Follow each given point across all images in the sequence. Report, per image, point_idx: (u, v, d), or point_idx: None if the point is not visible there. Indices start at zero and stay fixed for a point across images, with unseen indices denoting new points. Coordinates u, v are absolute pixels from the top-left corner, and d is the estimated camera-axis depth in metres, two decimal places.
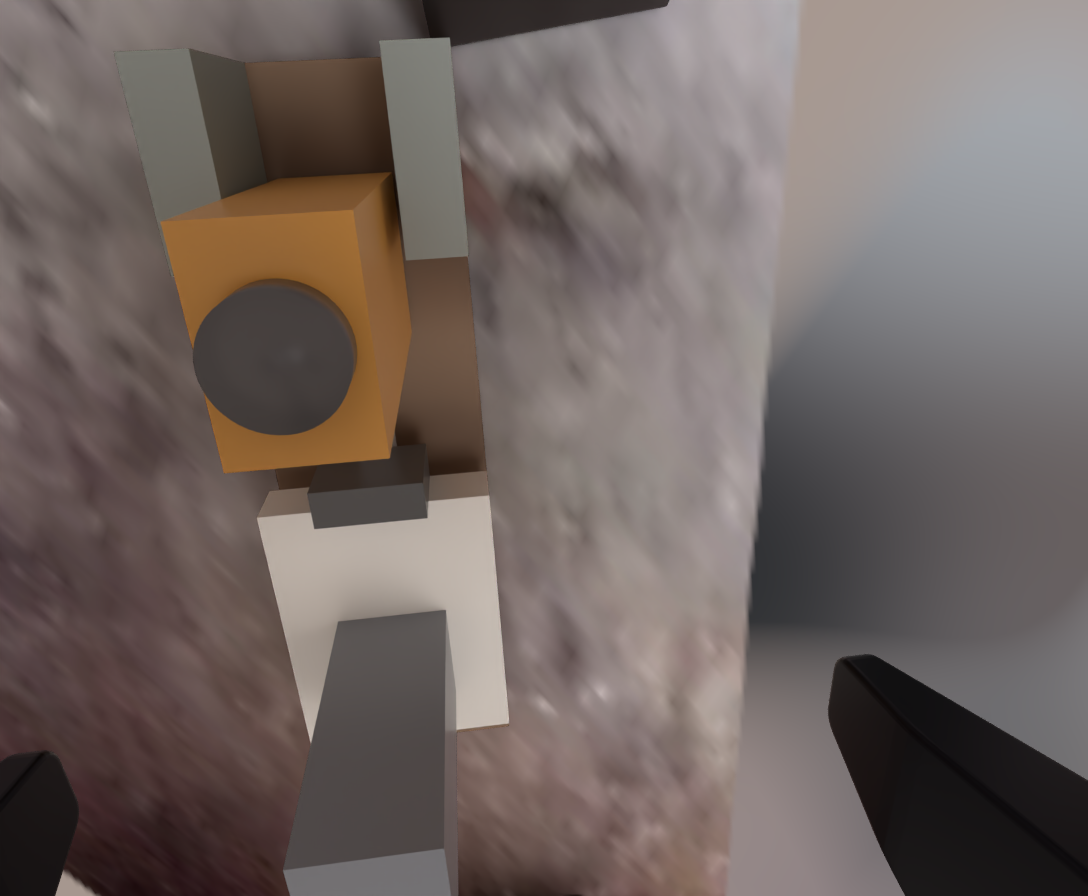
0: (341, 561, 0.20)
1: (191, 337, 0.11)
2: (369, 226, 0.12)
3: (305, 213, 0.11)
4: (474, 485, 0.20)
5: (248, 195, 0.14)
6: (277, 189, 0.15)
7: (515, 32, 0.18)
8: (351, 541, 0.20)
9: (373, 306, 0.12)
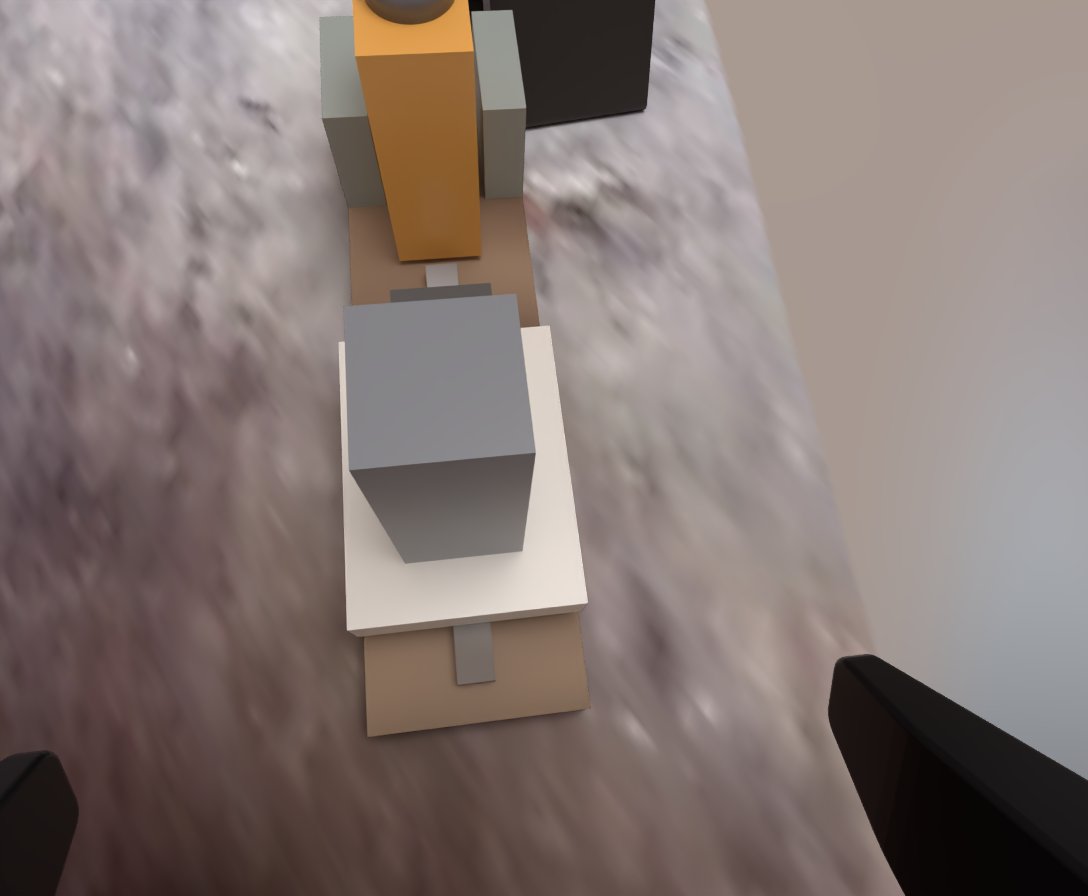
0: None
1: None
2: None
3: None
4: None
5: None
6: None
7: (552, 117, 0.28)
8: None
9: None
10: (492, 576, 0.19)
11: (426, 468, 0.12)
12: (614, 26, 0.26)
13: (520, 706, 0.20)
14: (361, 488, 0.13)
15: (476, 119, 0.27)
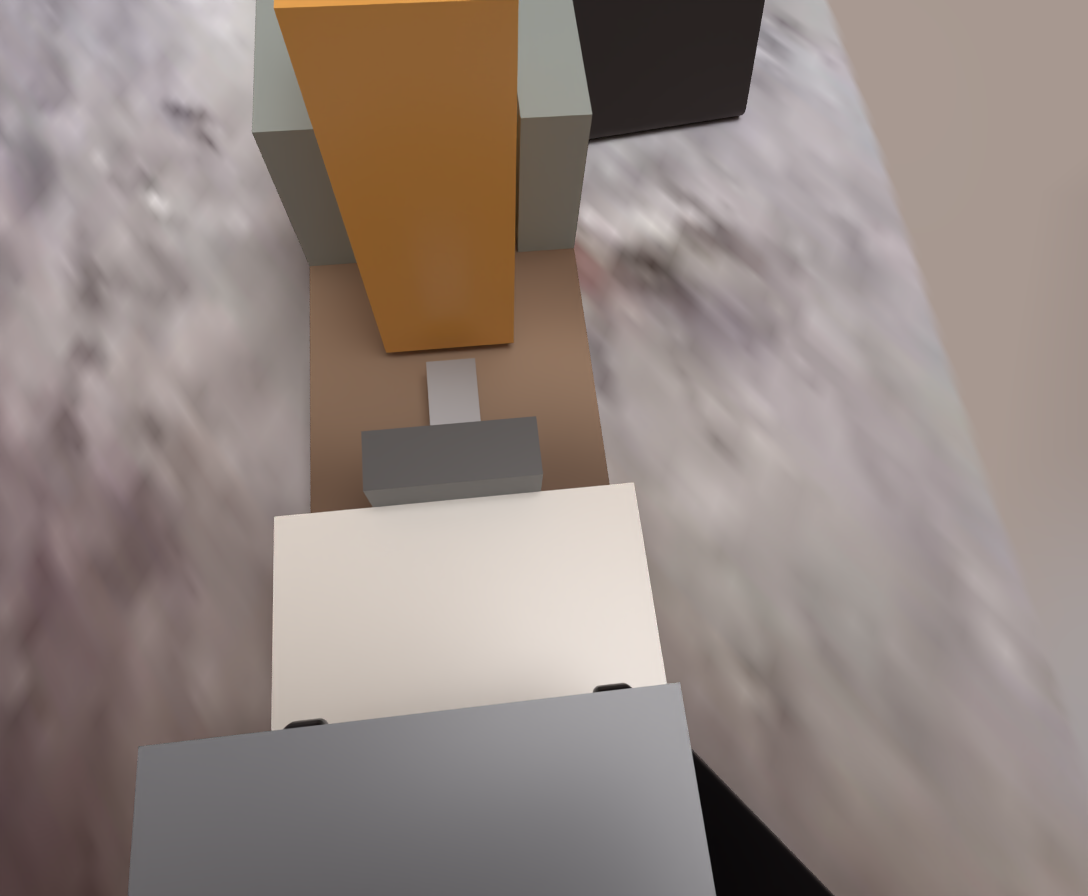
0: (395, 600, 0.12)
1: None
2: None
3: None
4: None
5: None
6: None
7: (611, 127, 0.20)
8: (415, 561, 0.12)
9: None
10: None
11: None
12: None
13: None
14: None
15: None
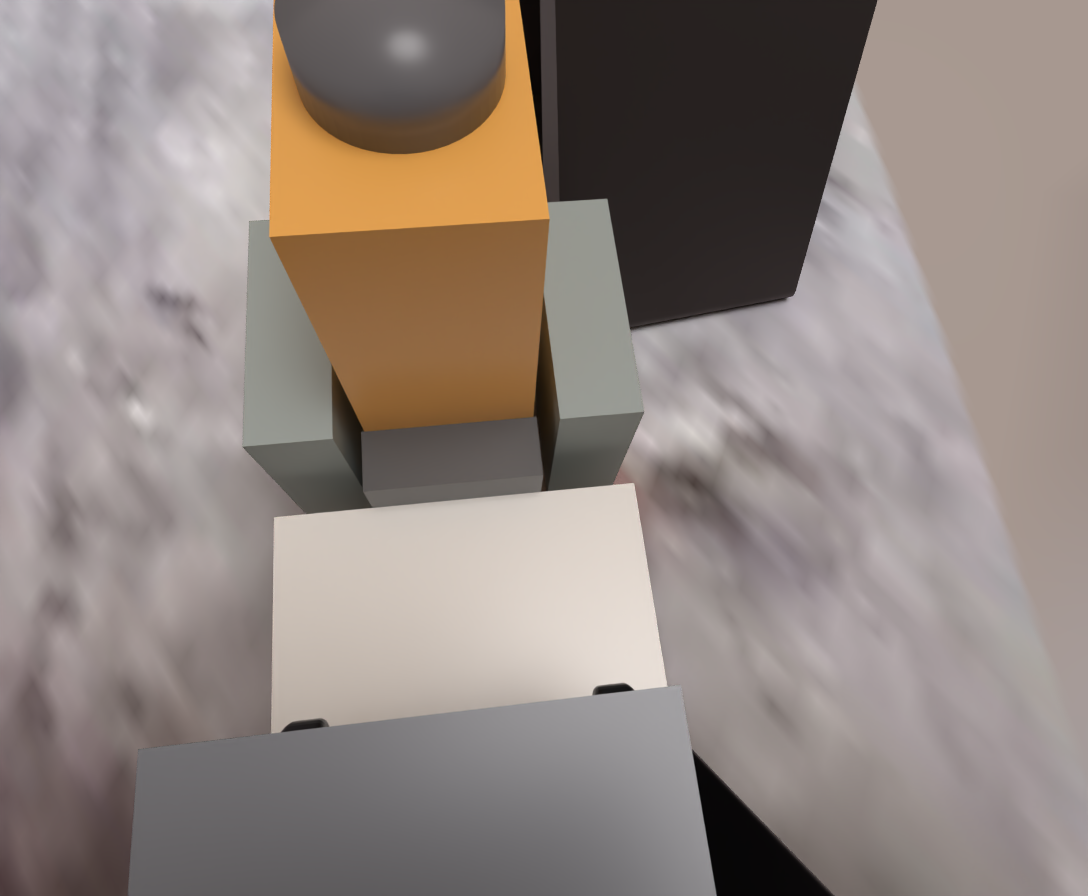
0: (395, 600, 0.12)
1: (274, 62, 0.08)
2: None
3: None
4: None
5: None
6: None
7: (646, 318, 0.18)
8: (415, 562, 0.12)
9: None
10: None
11: None
12: (762, 190, 0.16)
13: None
14: None
15: None
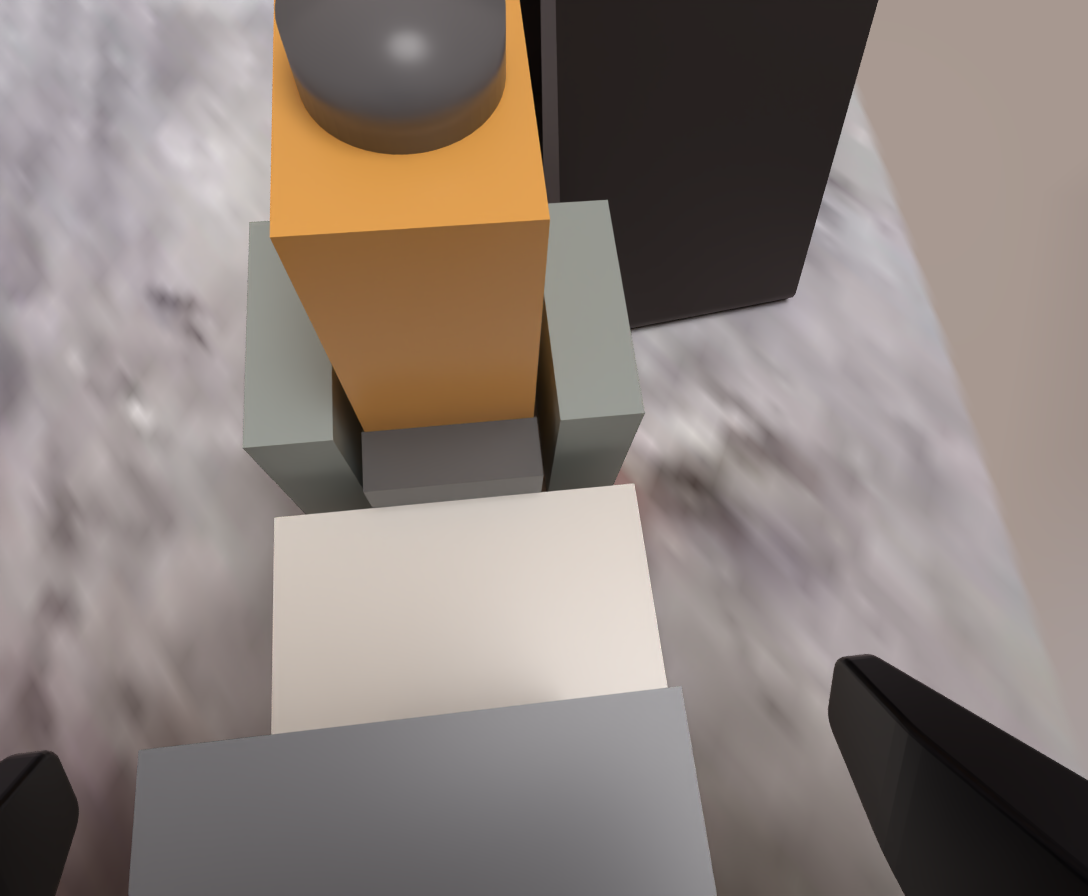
0: (395, 601, 0.12)
1: (274, 62, 0.08)
2: None
3: None
4: None
5: None
6: None
7: (646, 320, 0.18)
8: (416, 562, 0.12)
9: None
10: None
11: None
12: (763, 191, 0.16)
13: None
14: None
15: None
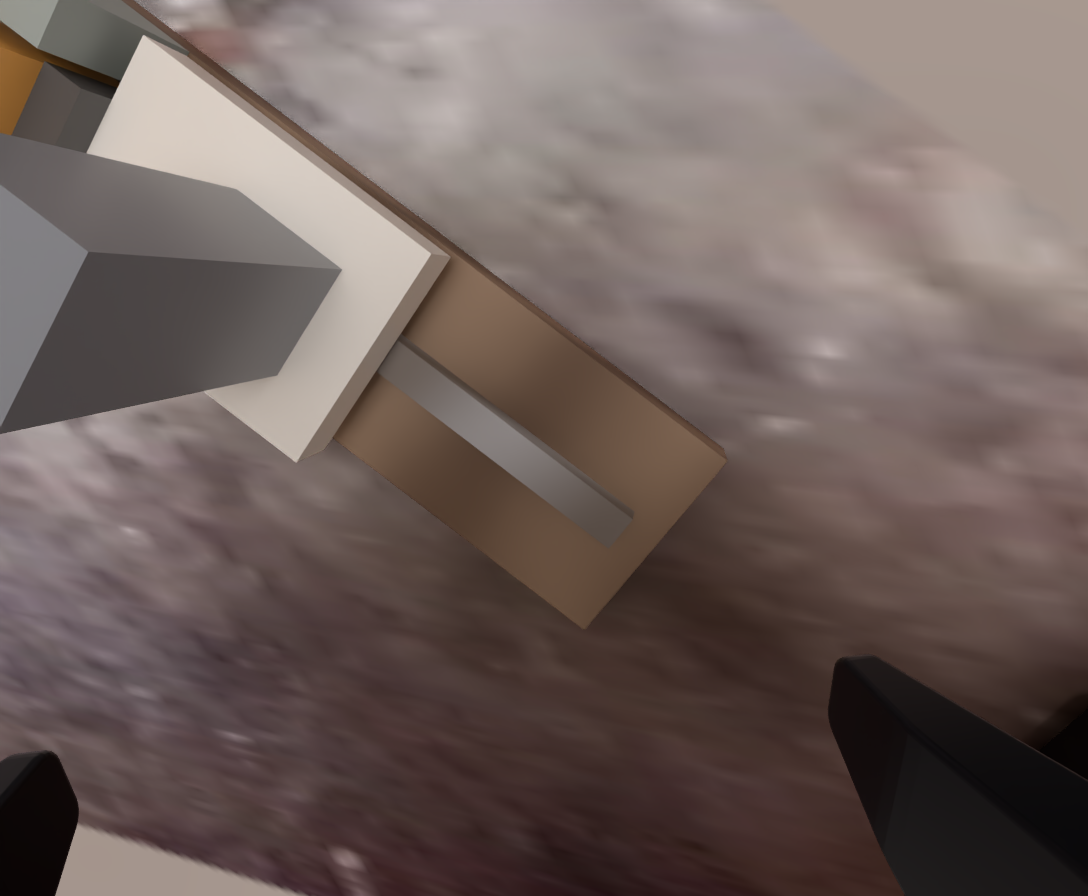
0: None
1: None
2: None
3: None
4: None
5: None
6: None
7: None
8: None
9: None
10: (343, 314, 0.17)
11: (48, 363, 0.10)
12: None
13: (671, 511, 0.19)
14: (55, 421, 0.11)
15: None
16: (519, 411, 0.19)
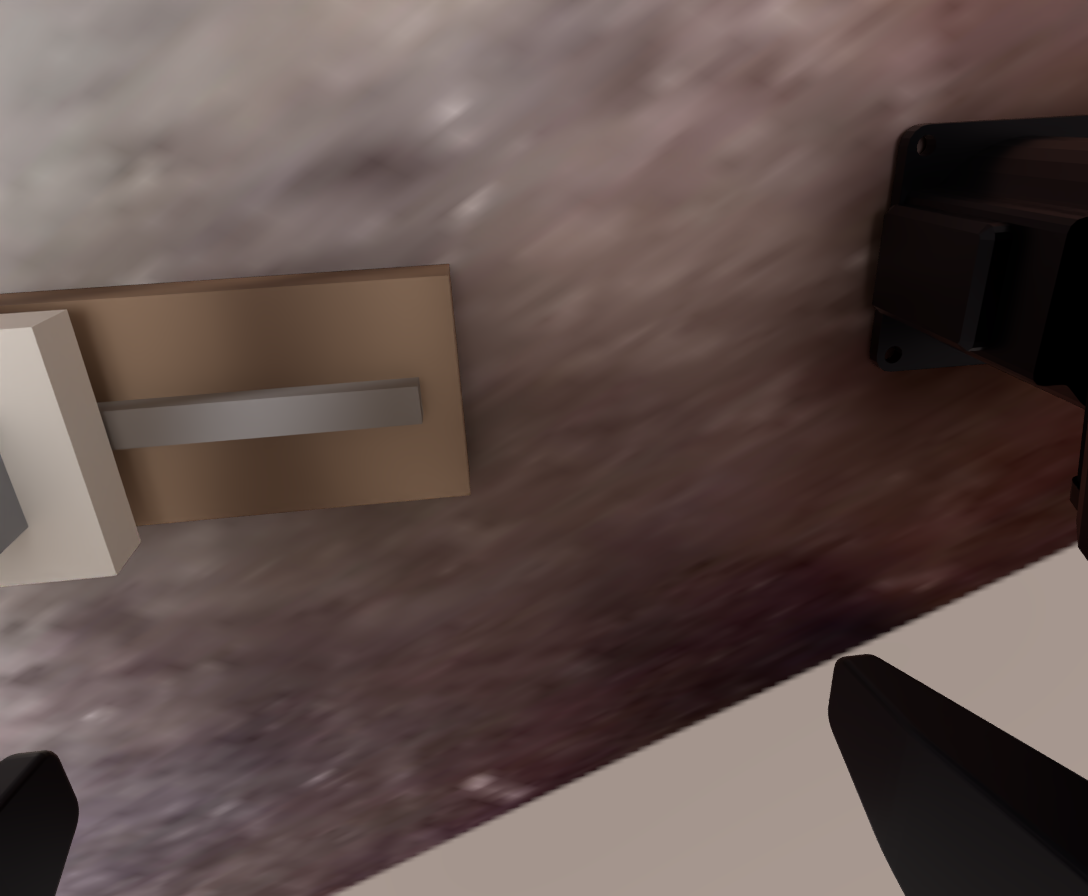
0: None
1: None
2: None
3: None
4: None
5: None
6: None
7: None
8: None
9: None
10: (22, 436, 0.16)
11: None
12: None
13: (445, 352, 0.19)
14: None
15: None
16: (257, 379, 0.18)
